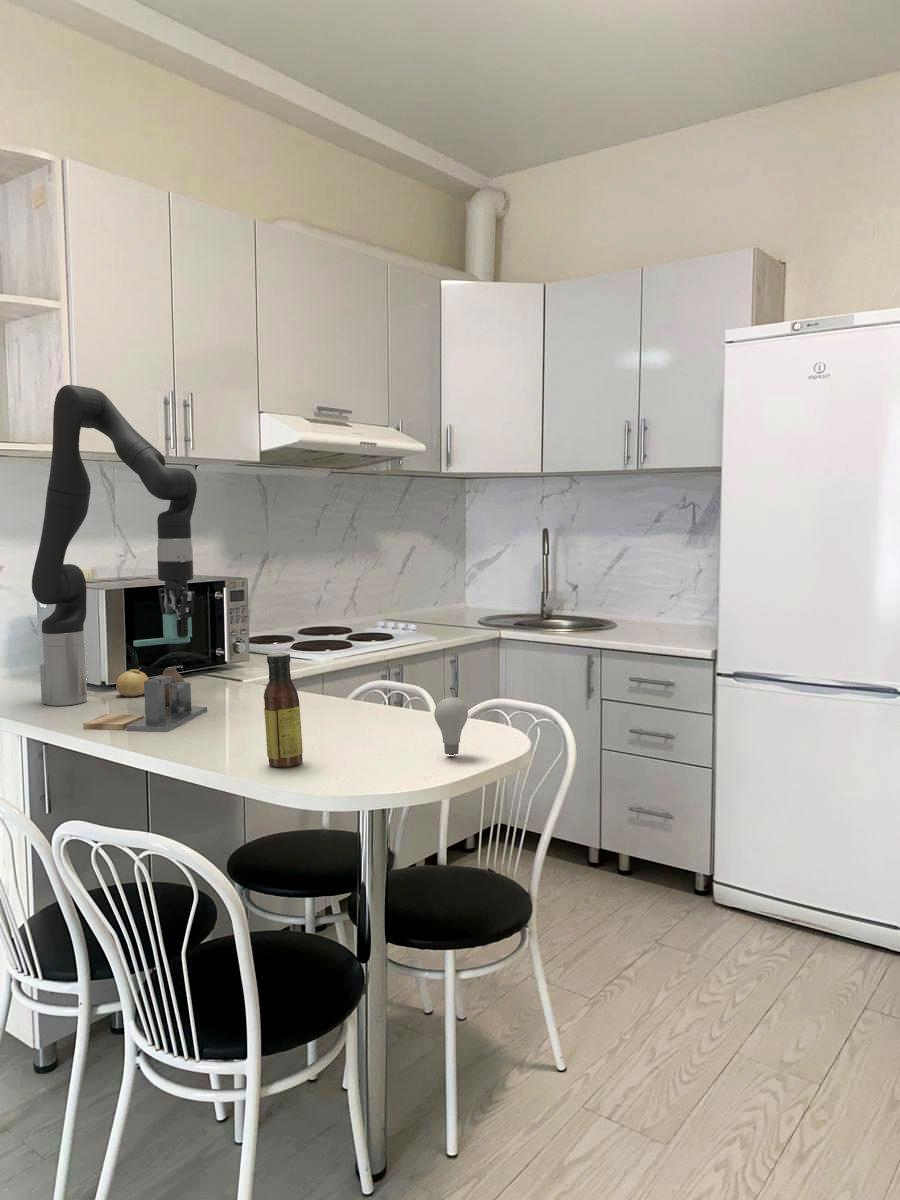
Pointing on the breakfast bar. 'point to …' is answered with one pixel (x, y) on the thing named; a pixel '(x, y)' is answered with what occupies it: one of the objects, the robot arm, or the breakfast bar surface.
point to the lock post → (155, 706)
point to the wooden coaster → (112, 722)
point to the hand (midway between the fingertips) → (177, 635)
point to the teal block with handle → (168, 633)
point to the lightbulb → (451, 722)
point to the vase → (175, 678)
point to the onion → (131, 683)
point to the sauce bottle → (282, 714)
